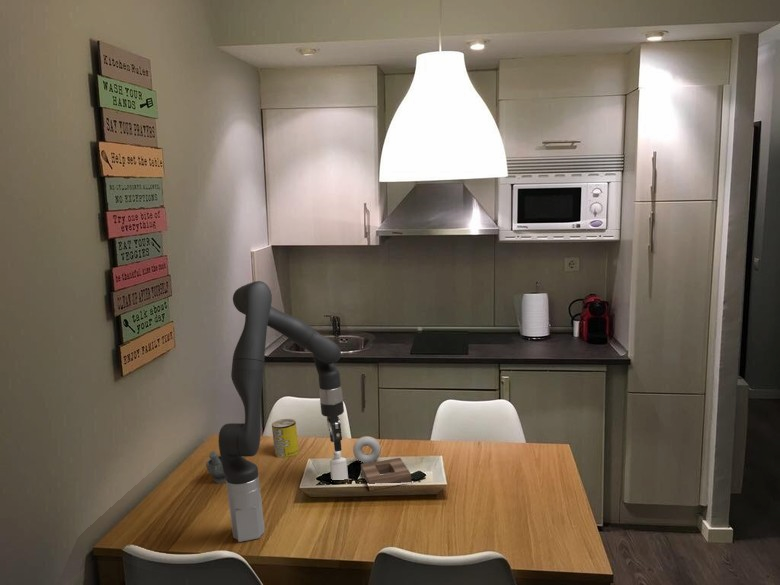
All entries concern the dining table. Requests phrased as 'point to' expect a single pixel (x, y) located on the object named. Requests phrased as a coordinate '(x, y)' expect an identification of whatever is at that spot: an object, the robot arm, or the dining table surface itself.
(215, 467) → the mortar and pestle
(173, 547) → the dining table surface
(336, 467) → the eye dropper bottle
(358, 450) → the donut
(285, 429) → the beverage can
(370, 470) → the walnut socket block
